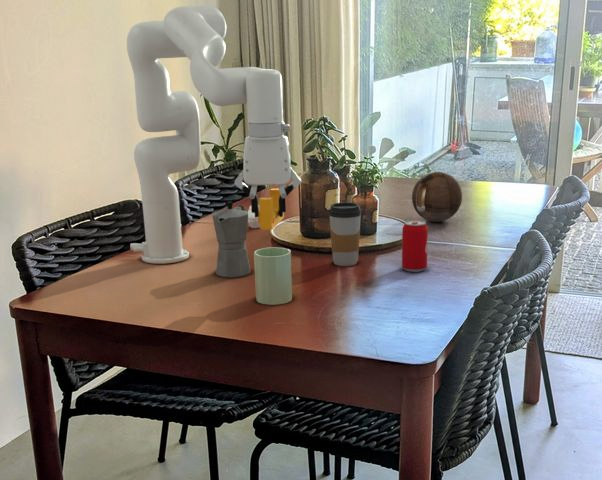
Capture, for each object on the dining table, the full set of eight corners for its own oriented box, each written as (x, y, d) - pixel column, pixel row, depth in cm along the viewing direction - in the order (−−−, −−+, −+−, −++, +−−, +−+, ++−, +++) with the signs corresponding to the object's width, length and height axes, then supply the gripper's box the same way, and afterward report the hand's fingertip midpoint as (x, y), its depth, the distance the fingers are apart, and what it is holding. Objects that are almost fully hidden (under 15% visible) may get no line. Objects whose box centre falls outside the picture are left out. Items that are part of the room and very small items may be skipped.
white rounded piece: (242, 228, 261) (241, 205, 258) (251, 224, 266) (249, 201, 264) (261, 229, 259) (260, 206, 256) (269, 225, 264) (268, 202, 261)
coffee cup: (327, 259, 226) (326, 202, 221) (359, 258, 227) (359, 201, 221) (331, 268, 219) (330, 209, 213) (363, 266, 219) (363, 208, 214)
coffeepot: (241, 281, 210) (237, 207, 203) (205, 278, 212) (200, 206, 206) (263, 264, 223) (260, 195, 217) (229, 262, 226) (225, 193, 220)
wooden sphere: (446, 214, 273) (448, 166, 267) (470, 224, 259) (472, 173, 254) (403, 218, 268) (404, 170, 263) (424, 228, 255) (426, 177, 250)
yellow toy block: (265, 216, 196) (264, 188, 193) (284, 217, 195) (283, 188, 193) (252, 229, 185) (250, 199, 183) (271, 229, 184) (270, 199, 182)
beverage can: (429, 266, 217) (430, 219, 213) (424, 273, 212) (425, 225, 208) (404, 265, 219) (405, 218, 215) (399, 271, 214) (399, 224, 210)
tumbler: (254, 305, 192) (252, 257, 188) (257, 293, 200) (255, 247, 196) (291, 304, 192) (290, 256, 188) (292, 293, 200) (291, 247, 196)
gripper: (306, 127, 186) (307, 211, 193) (227, 129, 186) (232, 212, 193) (305, 132, 179) (307, 218, 186) (223, 134, 179) (228, 220, 186)
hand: (269, 214), depth 189 cm, fingers closed on yellow toy block, 4 cm apart
